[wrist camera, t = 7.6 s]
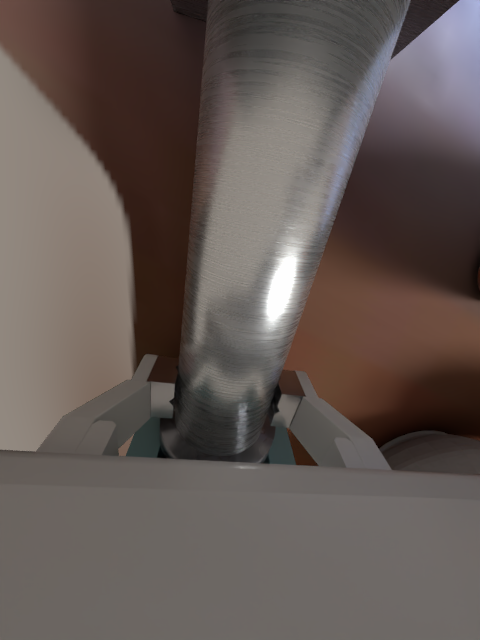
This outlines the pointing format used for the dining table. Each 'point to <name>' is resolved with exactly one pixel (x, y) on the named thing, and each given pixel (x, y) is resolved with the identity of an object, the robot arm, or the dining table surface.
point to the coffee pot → (433, 453)
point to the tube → (266, 201)
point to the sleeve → (421, 13)
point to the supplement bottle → (479, 278)
